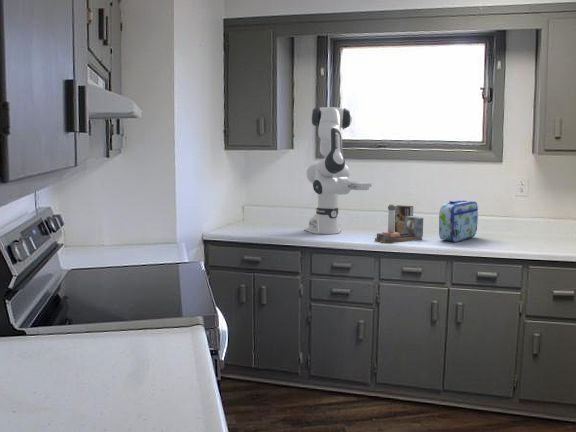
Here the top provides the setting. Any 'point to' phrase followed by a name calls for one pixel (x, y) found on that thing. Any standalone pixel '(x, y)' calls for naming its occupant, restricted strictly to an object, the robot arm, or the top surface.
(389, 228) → the white column brown base
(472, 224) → the lunch box
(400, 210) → the coffee box
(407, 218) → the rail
